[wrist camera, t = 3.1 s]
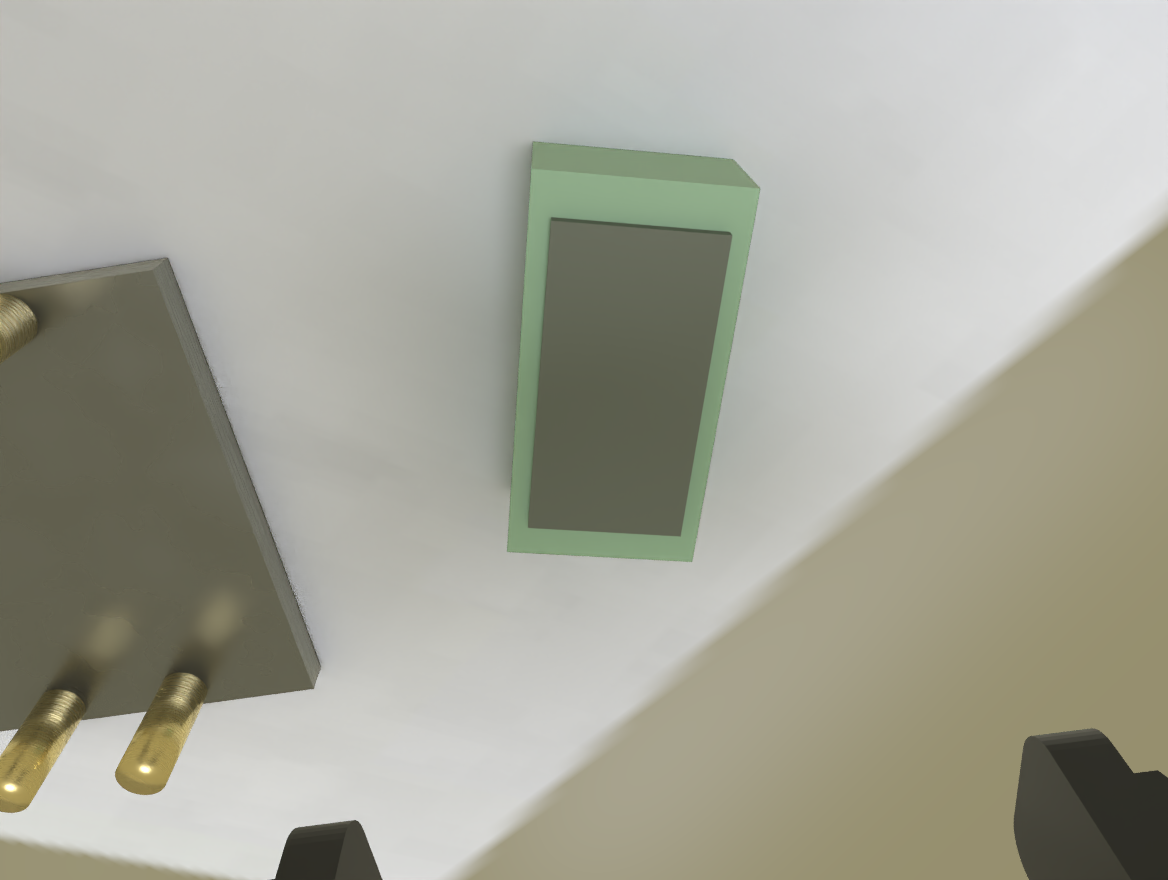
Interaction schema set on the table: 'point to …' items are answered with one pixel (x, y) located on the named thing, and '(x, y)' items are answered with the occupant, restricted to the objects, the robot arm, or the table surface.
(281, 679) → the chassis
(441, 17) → the table surface
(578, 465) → the green rectangular block
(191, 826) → the table surface
